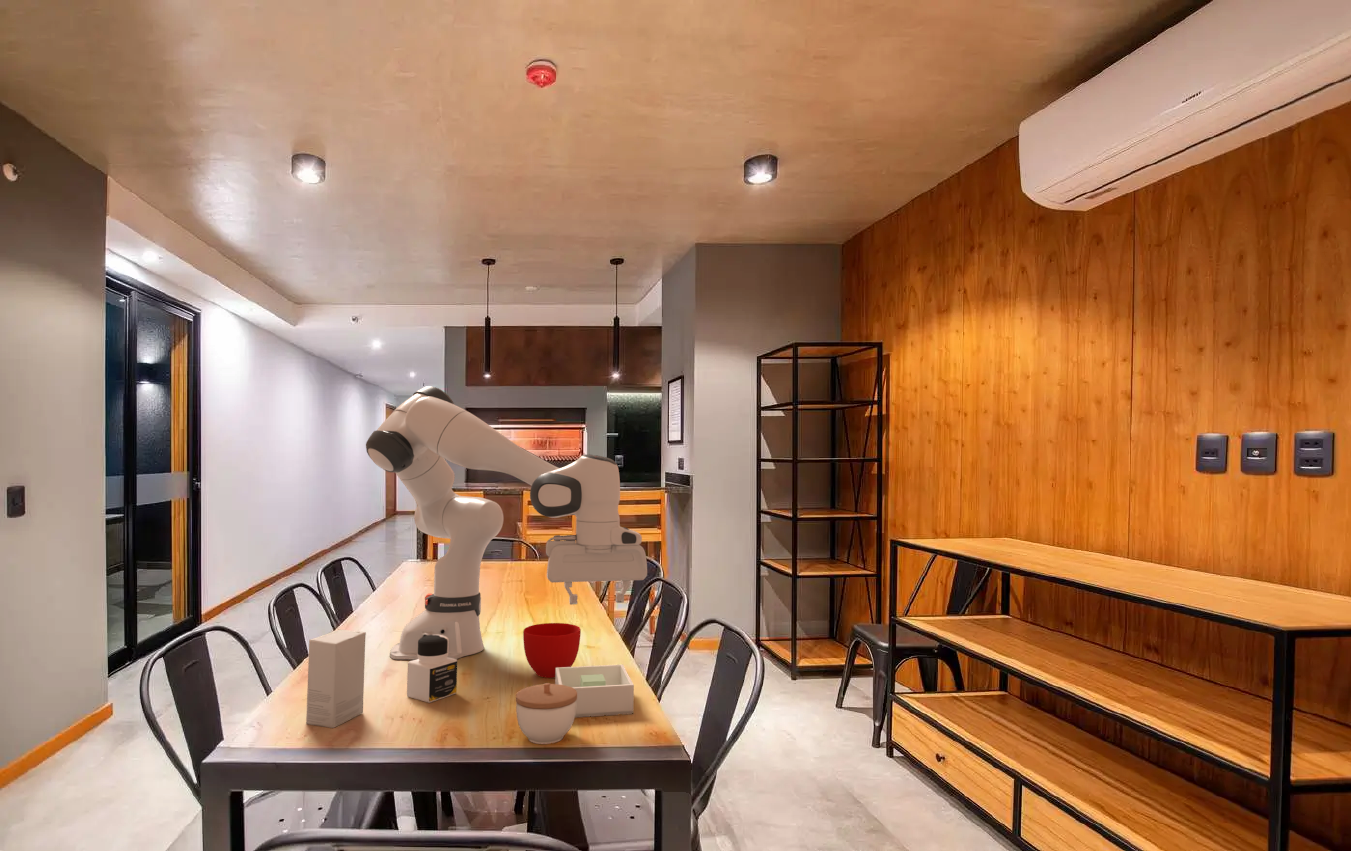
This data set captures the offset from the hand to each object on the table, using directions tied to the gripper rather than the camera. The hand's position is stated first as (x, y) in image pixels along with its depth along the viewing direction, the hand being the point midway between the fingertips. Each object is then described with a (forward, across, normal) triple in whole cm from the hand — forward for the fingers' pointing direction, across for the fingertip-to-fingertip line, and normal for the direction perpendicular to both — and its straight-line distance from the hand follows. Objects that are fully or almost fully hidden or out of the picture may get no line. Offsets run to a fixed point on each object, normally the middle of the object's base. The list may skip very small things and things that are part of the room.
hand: (596, 603), depth 147 cm
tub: (+20, 0, 0) cm, 20 cm away
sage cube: (+19, -1, 0) cm, 19 cm away
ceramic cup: (+20, -7, +24) cm, 32 cm away
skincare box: (+20, -48, 0) cm, 52 cm away
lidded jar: (+20, -11, -16) cm, 28 cm away
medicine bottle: (+20, -32, +11) cm, 40 cm away
